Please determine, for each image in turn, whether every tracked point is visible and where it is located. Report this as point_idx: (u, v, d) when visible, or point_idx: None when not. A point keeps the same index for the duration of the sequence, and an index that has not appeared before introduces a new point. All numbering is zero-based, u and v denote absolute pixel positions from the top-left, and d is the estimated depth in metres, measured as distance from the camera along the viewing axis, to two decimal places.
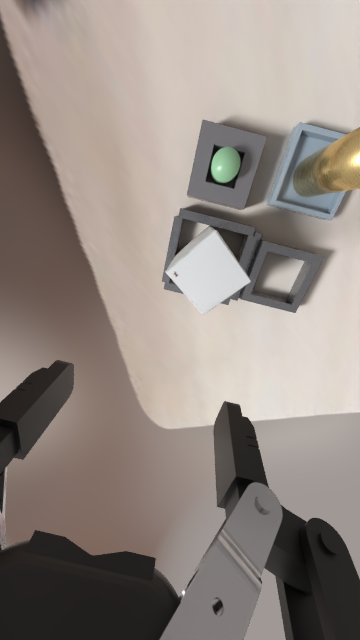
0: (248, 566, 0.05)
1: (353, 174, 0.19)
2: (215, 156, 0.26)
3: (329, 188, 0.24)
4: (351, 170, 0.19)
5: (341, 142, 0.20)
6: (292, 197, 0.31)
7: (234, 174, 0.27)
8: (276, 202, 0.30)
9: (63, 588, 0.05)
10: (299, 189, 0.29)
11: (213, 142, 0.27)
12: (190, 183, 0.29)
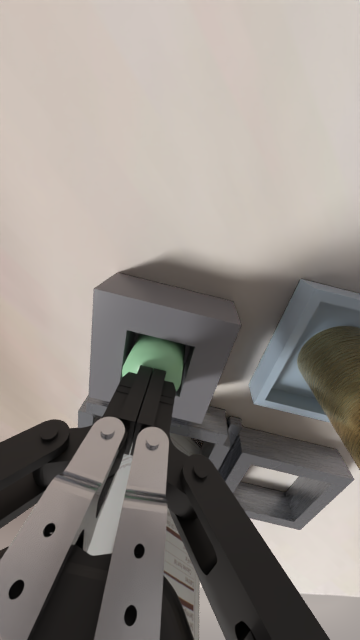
0: (154, 497, 0.06)
1: None
2: (127, 364, 0.12)
3: None
4: None
5: None
6: (296, 383, 0.16)
7: None
8: (266, 403, 0.16)
9: (63, 588, 0.05)
10: None
11: (124, 326, 0.12)
12: (91, 383, 0.14)
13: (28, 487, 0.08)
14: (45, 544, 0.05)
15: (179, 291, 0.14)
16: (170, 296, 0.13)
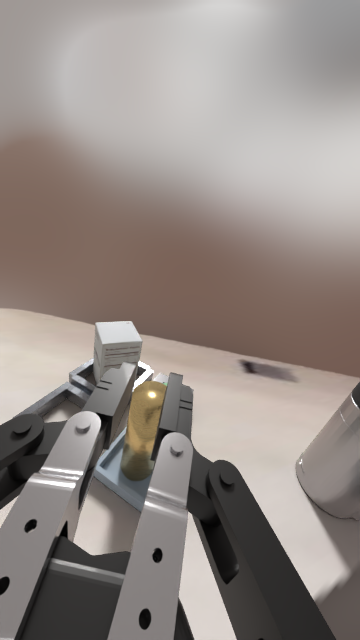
0: (175, 504, 0.06)
1: None
2: None
3: None
4: None
5: None
6: None
7: None
8: None
9: (63, 588, 0.05)
10: None
11: None
12: (165, 375, 0.46)
13: (4, 483, 0.07)
14: (28, 539, 0.05)
15: None
16: None
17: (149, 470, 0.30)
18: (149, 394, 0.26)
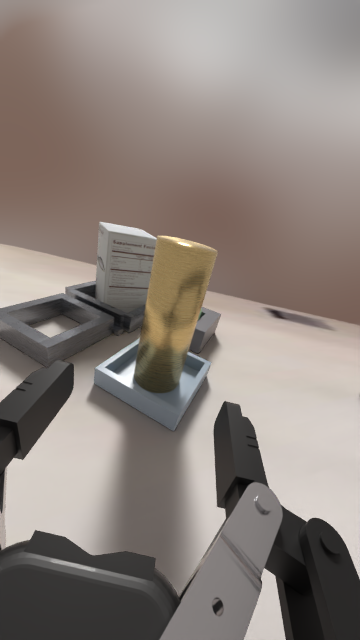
0: (248, 566, 0.05)
1: None
2: None
3: None
4: None
5: None
6: None
7: None
8: None
9: (63, 588, 0.05)
10: None
11: (207, 313, 0.34)
12: None
13: None
14: None
15: (207, 339, 0.33)
16: (210, 331, 0.33)
17: (175, 378, 0.22)
18: (181, 242, 0.18)
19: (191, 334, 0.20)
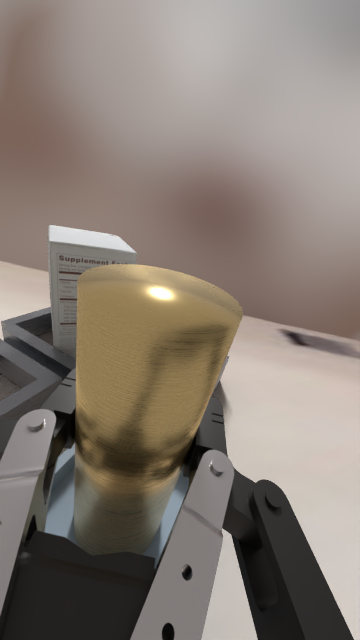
0: (210, 526, 0.06)
1: None
2: None
3: None
4: None
5: None
6: None
7: None
8: None
9: (63, 588, 0.05)
10: None
11: None
12: None
13: None
14: None
15: None
16: None
17: (149, 538, 0.11)
18: (150, 284, 0.07)
19: (178, 473, 0.09)
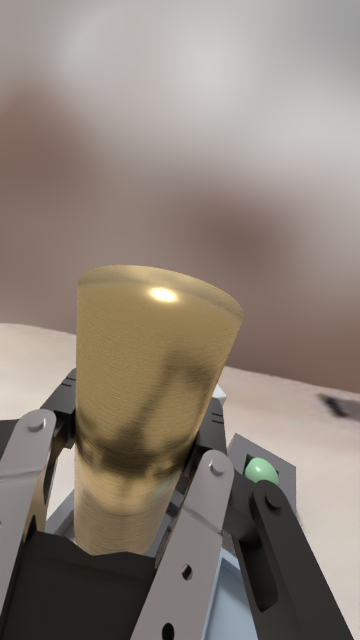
0: (210, 526, 0.06)
1: None
2: (269, 464, 0.26)
3: None
4: None
5: None
6: (219, 608, 0.18)
7: (255, 480, 0.24)
8: (219, 557, 0.20)
9: (63, 588, 0.05)
10: None
11: (280, 471, 0.26)
12: (244, 438, 0.29)
13: None
14: None
15: None
16: None
17: (149, 539, 0.11)
18: (150, 285, 0.07)
19: (179, 475, 0.09)
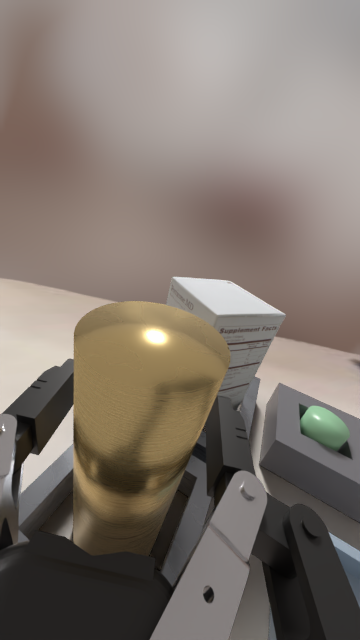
0: (236, 551, 0.06)
1: None
2: (331, 413, 0.20)
3: None
4: None
5: None
6: None
7: (320, 428, 0.18)
8: None
9: (63, 588, 0.05)
10: None
11: None
12: (291, 389, 0.24)
13: None
14: None
15: None
16: None
17: (145, 555, 0.11)
18: (142, 329, 0.07)
19: (172, 498, 0.10)
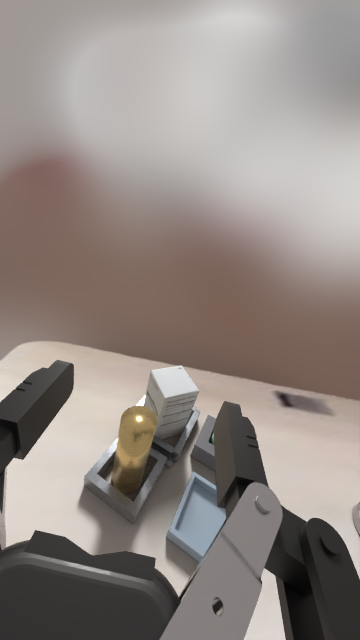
0: (248, 566, 0.05)
1: None
2: None
3: None
4: None
5: None
6: (192, 499, 0.35)
7: None
8: (193, 476, 0.37)
9: (63, 588, 0.05)
10: None
11: None
12: (213, 418, 0.47)
13: None
14: None
15: None
16: None
17: (137, 483, 0.34)
18: (135, 419, 0.30)
19: (144, 462, 0.33)
